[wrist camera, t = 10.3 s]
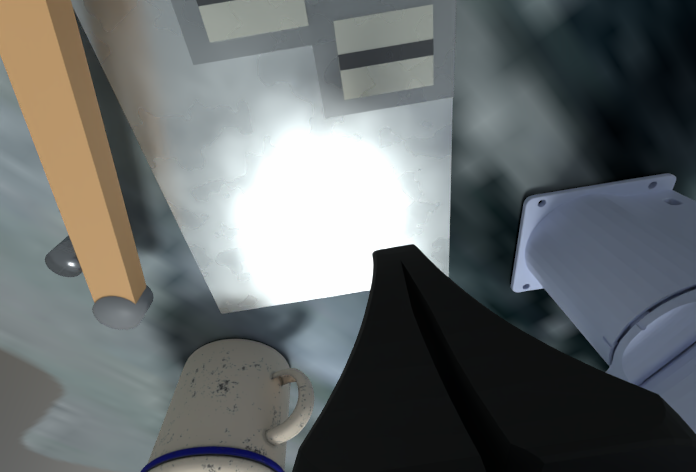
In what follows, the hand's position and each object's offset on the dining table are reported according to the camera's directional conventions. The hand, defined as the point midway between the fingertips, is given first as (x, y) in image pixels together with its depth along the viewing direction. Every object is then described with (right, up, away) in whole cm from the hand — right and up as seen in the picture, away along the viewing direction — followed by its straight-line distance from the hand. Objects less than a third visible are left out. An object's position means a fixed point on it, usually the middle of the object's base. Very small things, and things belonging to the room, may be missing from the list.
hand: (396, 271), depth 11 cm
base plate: (-7, +6, +8) cm, 12 cm away
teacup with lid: (-9, -9, +18) cm, 22 cm away
